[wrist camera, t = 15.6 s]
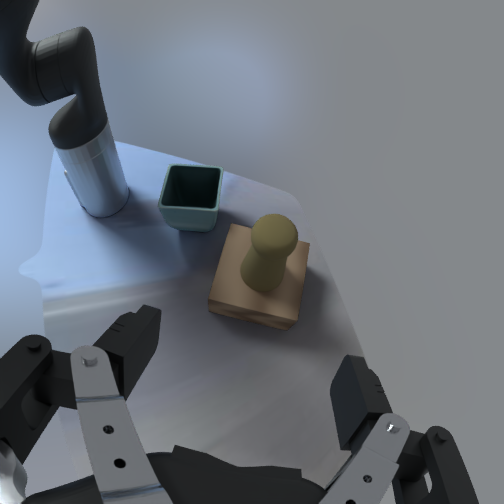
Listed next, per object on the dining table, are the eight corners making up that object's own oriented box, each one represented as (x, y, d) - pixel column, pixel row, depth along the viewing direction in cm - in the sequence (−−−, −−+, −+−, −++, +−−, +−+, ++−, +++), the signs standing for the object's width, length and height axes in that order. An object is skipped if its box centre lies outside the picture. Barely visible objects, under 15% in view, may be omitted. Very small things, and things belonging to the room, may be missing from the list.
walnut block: (208, 311, 43) (208, 298, 38) (229, 243, 49) (231, 223, 44) (287, 330, 43) (297, 320, 38) (299, 261, 49) (309, 243, 44)
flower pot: (174, 196, 52) (169, 162, 44) (222, 200, 53) (224, 166, 45) (165, 238, 48) (156, 206, 40) (217, 243, 49) (218, 211, 41)
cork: (280, 250, 43) (299, 205, 33) (286, 290, 40) (310, 253, 30) (238, 252, 42) (246, 205, 32) (242, 293, 39) (251, 255, 29)
